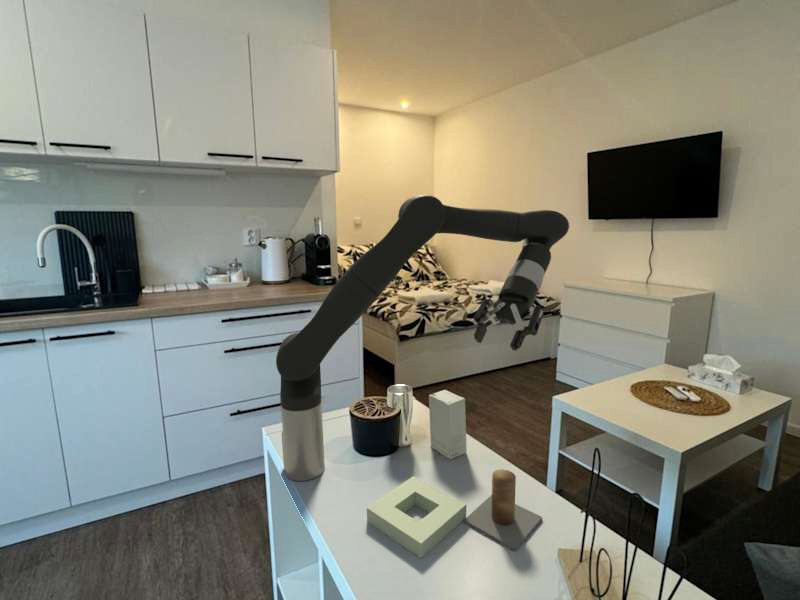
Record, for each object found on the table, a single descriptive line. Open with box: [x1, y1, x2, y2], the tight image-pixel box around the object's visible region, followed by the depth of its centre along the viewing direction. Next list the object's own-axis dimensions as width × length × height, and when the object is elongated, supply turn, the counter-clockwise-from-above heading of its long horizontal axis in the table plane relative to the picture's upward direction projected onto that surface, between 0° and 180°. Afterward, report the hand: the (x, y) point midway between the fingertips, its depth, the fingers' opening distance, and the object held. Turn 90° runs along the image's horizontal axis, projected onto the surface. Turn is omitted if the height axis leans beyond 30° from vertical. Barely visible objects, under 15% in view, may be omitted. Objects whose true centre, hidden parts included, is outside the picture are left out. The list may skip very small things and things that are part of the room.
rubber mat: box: [463, 494, 543, 552], centre depth 83 cm, size 11×11×1 cm
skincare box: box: [428, 389, 467, 460], centre depth 108 cm, size 8×6×15 cm
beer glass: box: [386, 384, 414, 448], centre depth 112 cm, size 7×7×15 cm
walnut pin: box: [491, 468, 517, 525], centre depth 82 cm, size 4×4×9 cm
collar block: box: [366, 475, 467, 559], centre depth 83 cm, size 14×14×3 cm
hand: (494, 344), depth 88 cm, fingers open, 8 cm apart
